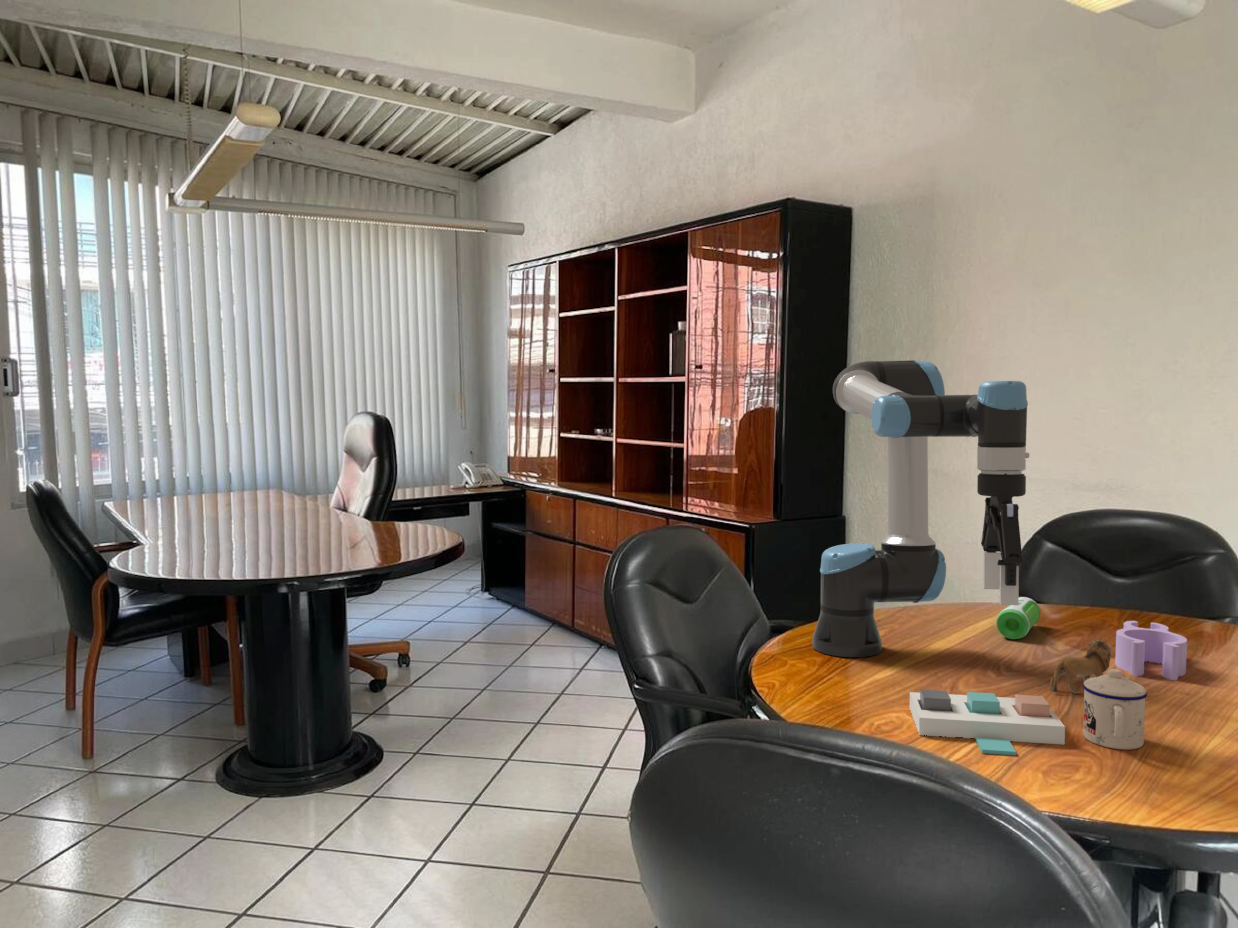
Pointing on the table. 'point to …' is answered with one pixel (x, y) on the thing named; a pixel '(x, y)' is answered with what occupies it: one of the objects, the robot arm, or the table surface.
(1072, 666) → the lion figurine
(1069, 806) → the table surface
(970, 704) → the teal button
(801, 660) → the table surface
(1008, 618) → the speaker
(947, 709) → the charcoal button
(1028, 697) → the terracotta button
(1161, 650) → the clip
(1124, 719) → the teacup with lid
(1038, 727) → the button board
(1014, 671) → the table surface
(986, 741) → the tile
